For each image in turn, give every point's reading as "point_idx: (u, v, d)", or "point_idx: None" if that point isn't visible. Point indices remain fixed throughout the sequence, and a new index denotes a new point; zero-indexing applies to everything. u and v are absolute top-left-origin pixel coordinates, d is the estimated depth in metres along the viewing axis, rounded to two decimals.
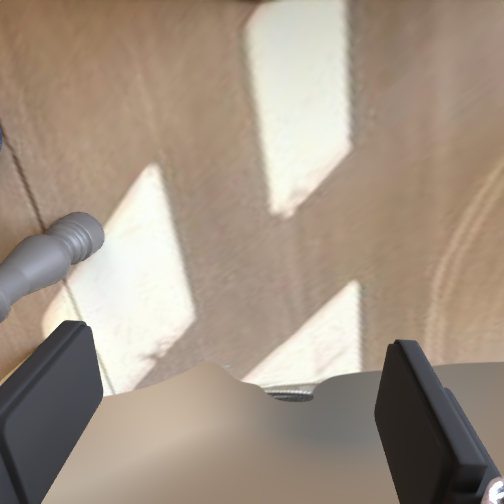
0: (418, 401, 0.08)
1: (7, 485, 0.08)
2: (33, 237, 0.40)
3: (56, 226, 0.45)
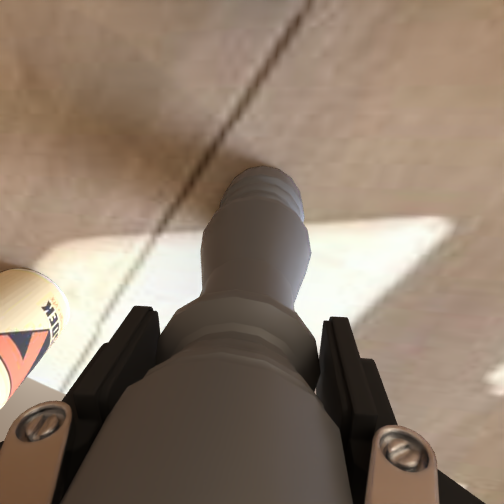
0: (334, 366, 0.09)
1: None
2: (294, 215, 0.18)
3: (285, 194, 0.23)
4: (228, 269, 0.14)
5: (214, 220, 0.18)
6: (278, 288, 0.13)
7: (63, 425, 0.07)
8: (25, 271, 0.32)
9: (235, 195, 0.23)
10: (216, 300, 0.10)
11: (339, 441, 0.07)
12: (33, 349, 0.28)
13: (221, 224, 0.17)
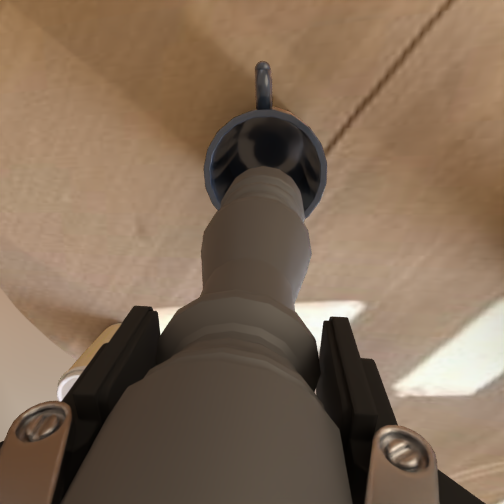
0: (334, 366, 0.09)
1: None
2: (294, 215, 0.18)
3: (286, 194, 0.23)
4: (229, 269, 0.14)
5: (215, 220, 0.18)
6: (279, 288, 0.13)
7: (63, 425, 0.07)
8: None
9: (236, 195, 0.23)
10: (216, 300, 0.10)
11: (339, 441, 0.07)
12: None
13: (221, 225, 0.17)
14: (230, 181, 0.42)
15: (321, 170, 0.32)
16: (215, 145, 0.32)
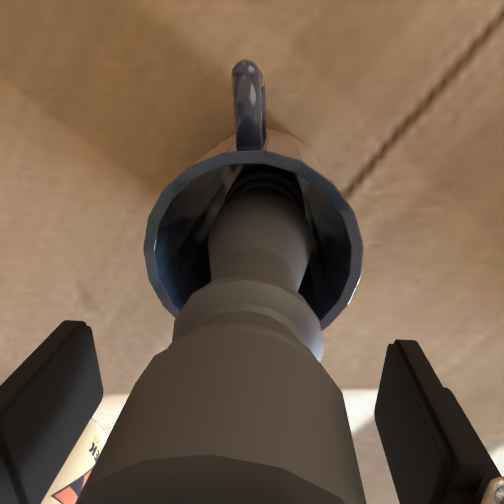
0: (418, 401, 0.08)
1: (7, 485, 0.08)
2: (296, 209, 0.19)
3: (287, 190, 0.24)
4: (237, 258, 0.15)
5: (221, 214, 0.19)
6: (284, 275, 0.14)
7: None
8: None
9: (239, 191, 0.24)
10: (229, 283, 0.11)
11: (342, 401, 0.08)
12: None
13: (228, 218, 0.18)
14: (204, 241, 0.28)
15: (352, 255, 0.18)
16: (161, 212, 0.17)
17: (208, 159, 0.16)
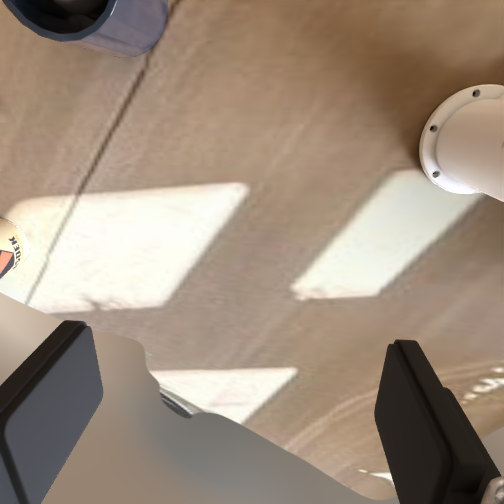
0: (418, 401, 0.08)
1: (7, 485, 0.08)
2: None
3: None
4: None
5: None
6: None
7: None
8: None
9: None
10: None
11: None
12: (2, 261, 0.48)
13: None
14: (69, 22, 0.38)
15: None
16: None
17: None
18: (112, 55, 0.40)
